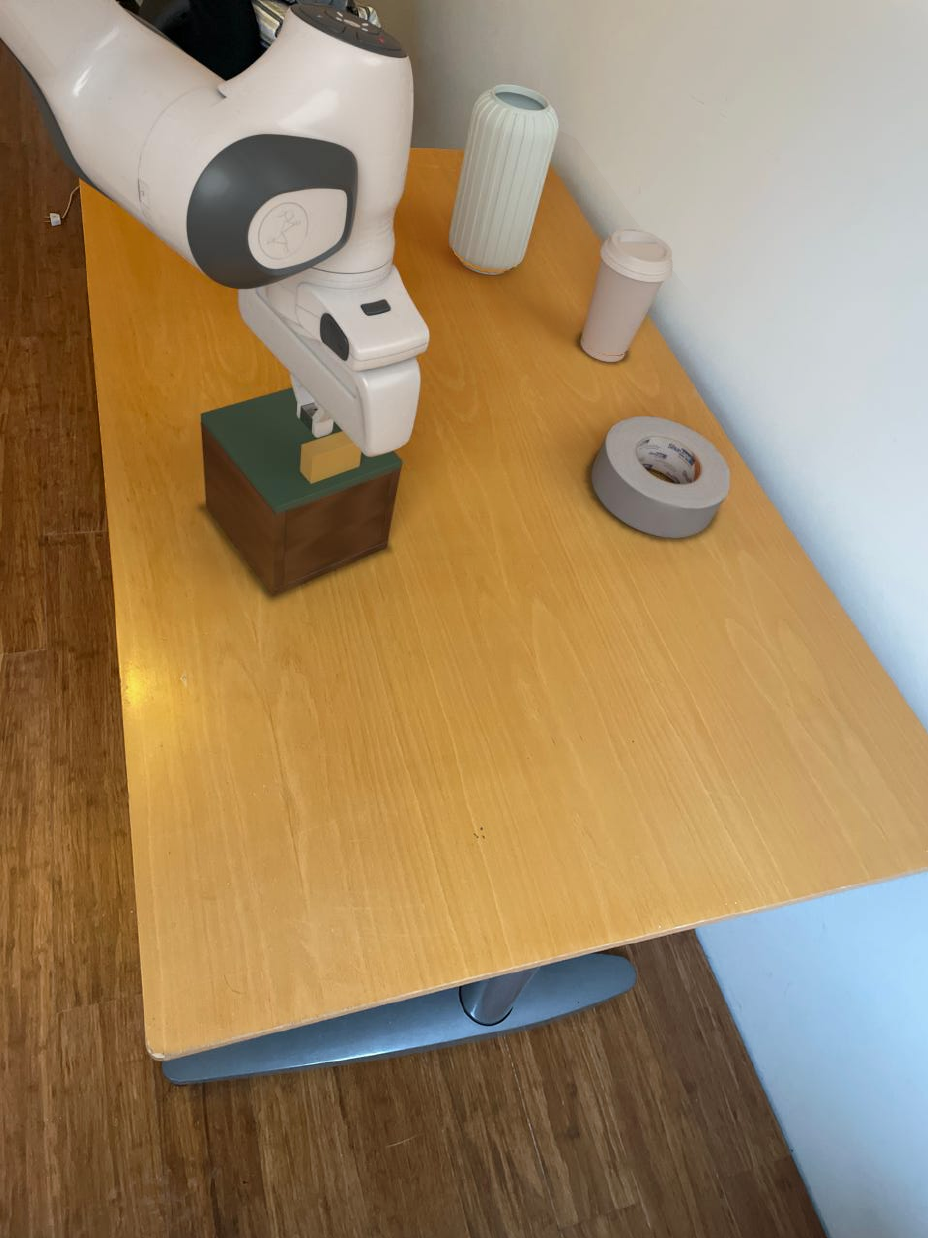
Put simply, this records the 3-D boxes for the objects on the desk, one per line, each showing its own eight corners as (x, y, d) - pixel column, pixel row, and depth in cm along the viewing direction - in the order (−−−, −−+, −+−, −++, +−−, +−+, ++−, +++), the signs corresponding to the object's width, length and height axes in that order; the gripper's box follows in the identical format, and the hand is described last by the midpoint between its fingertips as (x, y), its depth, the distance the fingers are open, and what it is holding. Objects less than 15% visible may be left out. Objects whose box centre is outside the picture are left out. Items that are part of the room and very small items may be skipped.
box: (273, 596, 76) (275, 514, 68) (206, 507, 81) (200, 421, 73) (386, 548, 83) (401, 467, 74) (317, 468, 88) (324, 384, 79)
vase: (430, 256, 119) (460, 89, 102) (470, 231, 126) (504, 70, 109) (497, 291, 117) (538, 126, 100) (533, 263, 124) (578, 104, 107)
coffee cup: (634, 336, 117) (675, 235, 106) (636, 375, 111) (680, 273, 100) (569, 320, 116) (604, 217, 105) (569, 359, 110) (605, 254, 99)
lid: (276, 514, 68) (277, 481, 65) (200, 420, 73) (198, 385, 70) (401, 467, 74) (408, 435, 71) (324, 384, 79) (327, 350, 76)
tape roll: (727, 485, 101) (747, 454, 97) (692, 559, 91) (711, 528, 87) (616, 430, 103) (631, 397, 99) (570, 496, 93) (584, 463, 89)
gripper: (216, 209, 61) (219, 363, 72) (371, 367, 54) (349, 514, 64) (289, 198, 65) (282, 348, 75) (445, 346, 57) (412, 489, 68)
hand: (314, 426), depth 70 cm, fingers closed
